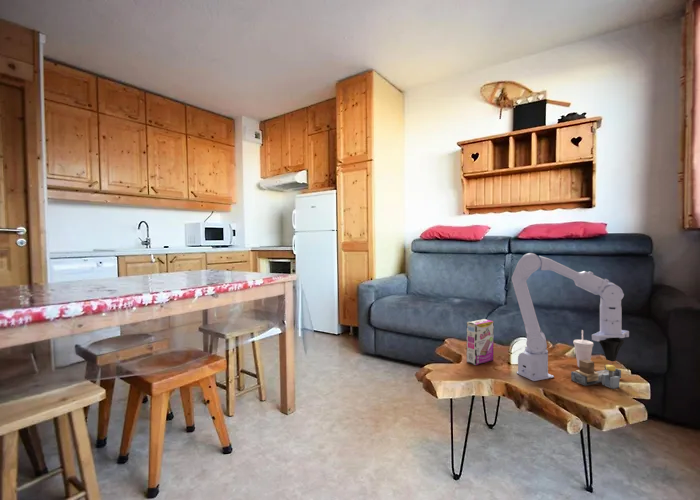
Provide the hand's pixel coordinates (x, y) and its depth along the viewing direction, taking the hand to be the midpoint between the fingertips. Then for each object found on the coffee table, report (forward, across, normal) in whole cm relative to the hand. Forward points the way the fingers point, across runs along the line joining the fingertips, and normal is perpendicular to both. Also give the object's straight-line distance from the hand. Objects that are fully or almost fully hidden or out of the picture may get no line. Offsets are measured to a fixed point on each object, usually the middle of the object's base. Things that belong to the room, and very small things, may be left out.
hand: (610, 360), depth 112 cm
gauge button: (+7, 0, 0) cm, 7 cm away
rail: (+9, +1, +6) cm, 10 cm away
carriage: (+9, -4, +6) cm, 11 cm away
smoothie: (+9, +8, +16) cm, 20 cm away
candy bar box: (+9, -24, +34) cm, 43 cm away
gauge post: (+9, 0, 0) cm, 9 cm away
